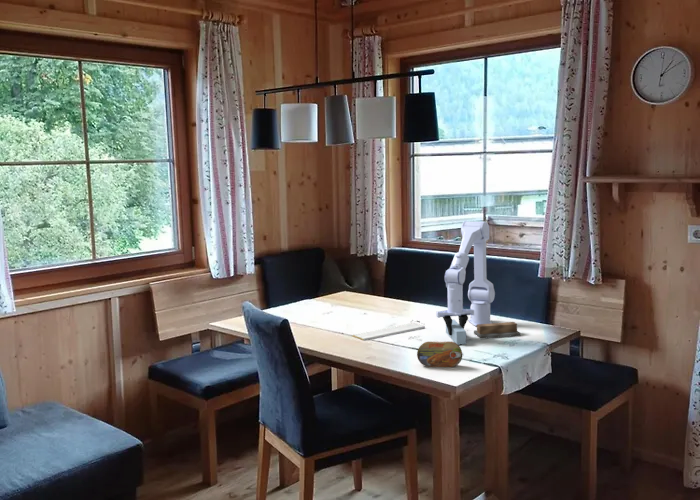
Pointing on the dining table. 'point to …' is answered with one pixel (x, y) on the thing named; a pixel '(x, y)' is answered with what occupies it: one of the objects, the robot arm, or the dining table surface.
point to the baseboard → (389, 331)
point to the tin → (439, 354)
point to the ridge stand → (497, 330)
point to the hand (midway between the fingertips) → (455, 334)
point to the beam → (457, 333)
